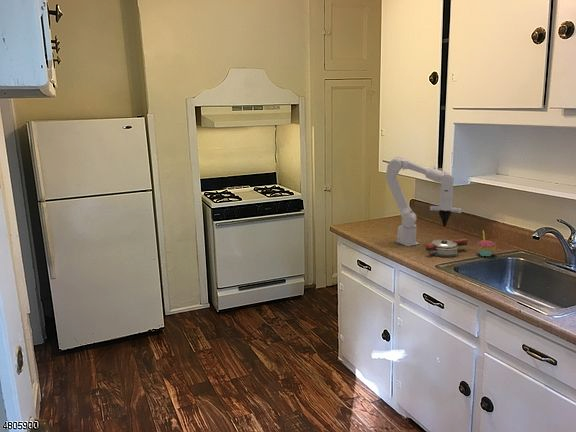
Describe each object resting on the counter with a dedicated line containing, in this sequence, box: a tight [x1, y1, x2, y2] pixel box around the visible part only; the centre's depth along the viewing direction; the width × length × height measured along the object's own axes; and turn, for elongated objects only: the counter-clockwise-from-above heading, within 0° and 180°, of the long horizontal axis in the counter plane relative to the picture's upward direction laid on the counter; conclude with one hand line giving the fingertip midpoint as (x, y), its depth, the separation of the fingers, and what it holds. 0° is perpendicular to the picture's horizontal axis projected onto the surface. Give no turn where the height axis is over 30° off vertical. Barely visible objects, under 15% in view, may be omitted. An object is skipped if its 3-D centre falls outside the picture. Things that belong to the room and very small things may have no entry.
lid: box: [425, 238, 469, 248], centre depth 228 cm, size 23×11×2 cm, turn 111°
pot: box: [425, 242, 468, 258], centre depth 229 cm, size 13×23×4 cm, turn 114°
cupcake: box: [475, 230, 497, 258], centre depth 224 cm, size 9×8×12 cm
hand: (444, 225), depth 238 cm, fingers closed
